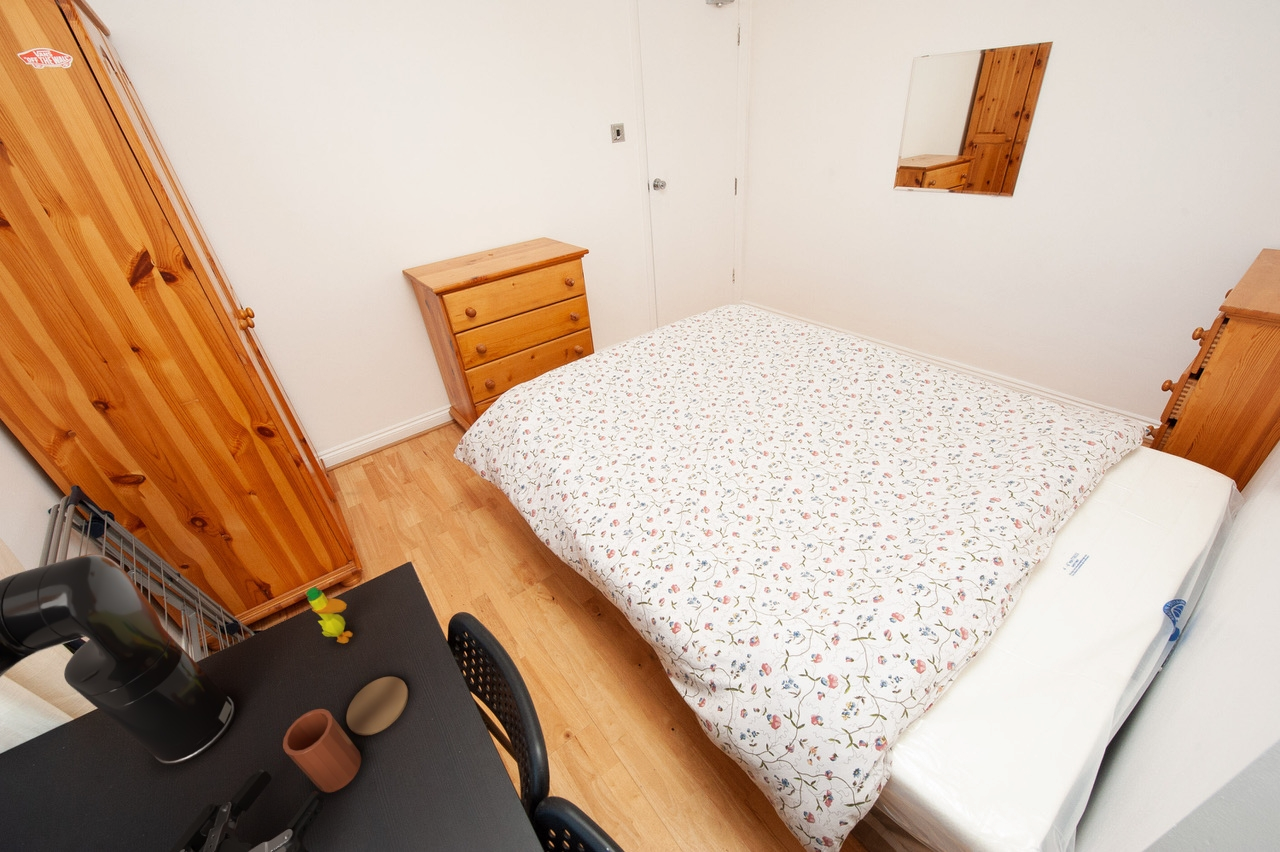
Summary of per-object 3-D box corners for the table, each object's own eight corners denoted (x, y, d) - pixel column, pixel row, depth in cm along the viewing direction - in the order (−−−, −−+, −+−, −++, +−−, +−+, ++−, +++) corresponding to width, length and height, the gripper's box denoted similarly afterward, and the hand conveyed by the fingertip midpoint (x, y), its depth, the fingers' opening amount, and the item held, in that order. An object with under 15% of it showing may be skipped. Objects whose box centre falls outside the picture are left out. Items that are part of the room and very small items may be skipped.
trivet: (334, 726, 72) (332, 724, 71) (376, 672, 78) (374, 670, 78) (381, 742, 69) (379, 740, 69) (420, 685, 76) (419, 683, 76)
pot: (307, 785, 65) (272, 747, 60) (339, 743, 70) (309, 704, 64) (339, 798, 64) (306, 760, 58) (370, 753, 68) (341, 715, 63)
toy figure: (370, 629, 85) (342, 582, 79) (358, 648, 82) (328, 601, 76) (334, 628, 86) (304, 581, 80) (321, 647, 83) (289, 600, 77)
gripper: (176, 993, 43) (325, 787, 56) (74, 930, 47) (235, 751, 60) (221, 1012, 47) (351, 815, 60) (123, 952, 51) (264, 779, 64)
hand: (292, 783), depth 60 cm, fingers open, 8 cm apart
